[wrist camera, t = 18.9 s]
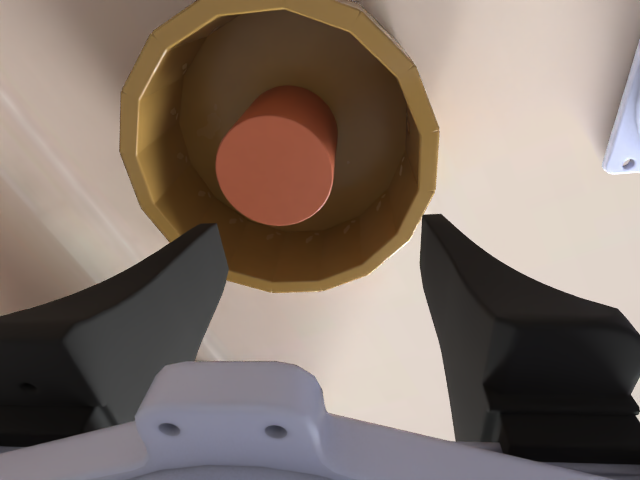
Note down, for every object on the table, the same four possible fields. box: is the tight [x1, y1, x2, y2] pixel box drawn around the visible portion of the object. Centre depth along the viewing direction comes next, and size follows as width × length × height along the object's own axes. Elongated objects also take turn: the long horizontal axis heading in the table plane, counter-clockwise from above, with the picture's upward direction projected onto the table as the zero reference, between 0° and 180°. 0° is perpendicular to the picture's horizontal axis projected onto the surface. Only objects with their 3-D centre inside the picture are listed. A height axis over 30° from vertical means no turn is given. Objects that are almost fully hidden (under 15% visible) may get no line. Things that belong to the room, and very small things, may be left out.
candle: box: [215, 85, 338, 226], centre depth 17 cm, size 5×5×5 cm
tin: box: [119, 0, 439, 293], centre depth 18 cm, size 12×12×5 cm
